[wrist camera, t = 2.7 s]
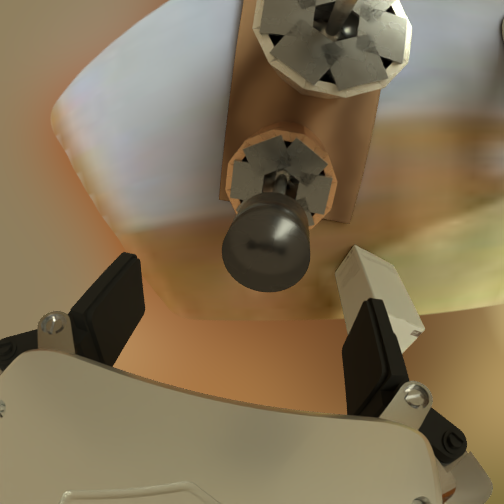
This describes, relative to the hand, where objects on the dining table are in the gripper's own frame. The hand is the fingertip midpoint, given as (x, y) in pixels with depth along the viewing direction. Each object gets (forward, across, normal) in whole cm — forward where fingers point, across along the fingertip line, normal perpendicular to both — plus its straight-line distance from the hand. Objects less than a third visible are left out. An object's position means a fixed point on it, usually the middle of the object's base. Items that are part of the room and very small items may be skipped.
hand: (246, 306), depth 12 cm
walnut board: (+29, -2, -9) cm, 30 cm away
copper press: (+28, -1, +1) cm, 28 cm away
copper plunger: (+19, -1, -1) cm, 19 cm away
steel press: (+28, -3, -16) cm, 32 cm away
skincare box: (+29, -16, +13) cm, 36 cm away
